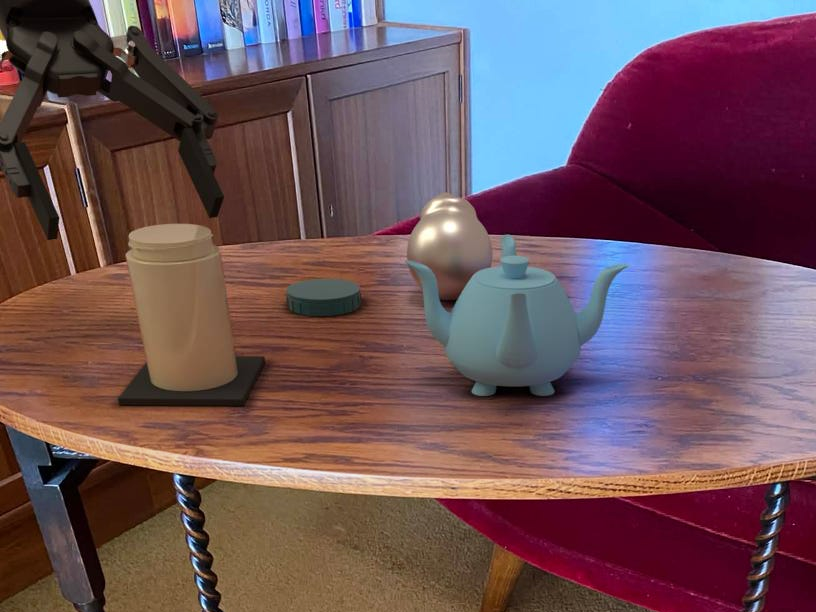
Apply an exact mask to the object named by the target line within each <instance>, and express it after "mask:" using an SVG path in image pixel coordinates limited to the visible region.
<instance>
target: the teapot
mask: <svg viewBox="0 0 816 612" xmlns="http://www.w3.org/2000/svg"><path fill="white" fill-rule="evenodd" d="M515 241H516V240H515V238H514V237H513V236H512V235H511V234H504V235H503V236H502V238H501V255H500V256H501V257H500V259H499V260H500V262H499V263H500V264H499V266H491V268H486V269H483V270H480V271H478V272H476V273H475V274H474V275H473V276H472V278H471V279H470V280H469V282H468V283H467V285H466V286H465V288H464V290H463V291H462V293H461V295H460V296H459V298H458V300H455V303H454V305H453V308H452V310H451V312H448V311H447V310H446V309H445V308H444V306H443V305H442V303H441V299H439V295H438V286H437V280H436V277H435V275H434V273H433V272H432V270H431V269H430V268H428V267H427V266H425V265H423V264H420V263H417V262H414V261H410V260H407V259H404V262H405V263H406V264H407V266H408V265H409V266H410V267H411V268H412V269H413V270H414V271H415V272H416V273H417V275H418V277H419V278H420V281H421V284H422V288H423V289H422V288H421V289H422V294H423V311H424V319H425V323H426V326H427V328H428V331H429V333H430V334H431V335H432V337H433V338H434V340H436V341H437V342H438V343H440V344H441V345H442V346H443V347H444V352H445V355H446V357H447V359H448V360H449V361H450V363H451V364H452V365H453V366H454V367H455V369H456V370H457V372H459V373H460V374H461V375H462V376H463V377H465V378H467V379H470V380H472V381H474V385H473V387H472V389H471V394H473V395H475V396H479V397H488V396H489V397H490V396H492V395H495V394H496V392H497V388H498V387H497V386H499V387H528V388H529V391H530V393H531V394H532V395H535V396H541V397H546V396H551V395H554V393H555V389H554V387H553V385H552V383H551V382H553V381H555V380H558V379H560V378H561V377H562V376H565V373H567V372H568V371H569V370H570V369H571V368H572V367H573V365H574V364H575V363H576V362H577V361H578V359H579V357H580V354H581V351H582V350H581V349H582V346H583V345H585V344H586V343H588V342H589V341H590V340H591V339H592V338H593V337H594V336H596V334H597V333H598V331H599V329H600V327H601V324H602V322H603V318H604V314H605V310H606V309H605V308H606V303H607V297H608V293H609V290H610V287H611V285H612V282H613V281H614V280H615V278H616V277H617V276H618V274H620V273H621V272H622V271H623V270H625V269H626V268H627V267H629V263H619V264H614V265H611V266H608V267H607V266H606V267H605V268H604V269H602V270H601V271H600V272H599V273H598V275H597V276H596V278H595V280H594V283H593V286H592V290H591V293H590V298H589V300H588V302H587V304H586V305H585V307H583V308H582V309H581V310H580V311H578V312H577V313H576V312H575V309H574V307H573V305H572V303H571V301H570V299H569V297H568V295H567V293H566V291H565V289H564V287H563V286H562V284H561V283H560V281H559V279H558V278H557V277H556V276H555V274H554V273H552V272H551V271H549V270H546V269H543V268H538V267H533V266H529V263H530V258H528V257H526V256H524V255H523V256H522V255H517V249H516V248H517V247H516V242H515ZM409 266H408V267H409Z"/></svg>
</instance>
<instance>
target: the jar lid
mask: <svg viewBox="0 0 816 612" xmlns="http://www.w3.org/2000/svg"><path fill="white" fill-rule="evenodd" d="M285 291H286V294H285V297H286V305H287V309H289V310H290V311H291V312H292V313H295V314H297V315H301V316H308V317H335V316H341V315H346V314H349V313H352V312H355V311H357V310H358V309H360V308H361V305H362V304H363V300H362V292H361V287H360V285H359V284H358V283H356V282H355V281H351V280H346V279H341V278H312V279H305V280H301V281H296V282H295V283H292V284H290V285H289V286H287V287H286V289H285Z"/></svg>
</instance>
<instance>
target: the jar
mask: <svg viewBox="0 0 816 612" xmlns="http://www.w3.org/2000/svg"><path fill="white" fill-rule="evenodd" d="M213 237H214V233H212V230H211V228H209V227H207V226H204V225H200V224H192V223H165V224H163V223H162V224H155V225H149V226H144V227H140V228H137V229H135V230H133V231H131V232H129V234H128V243H127V244H128V247H129V248H130V249H129V250H128V251H127V252H126V253H125V260H126V265H127V270H128V275H129V281H130V285H131V289H132V290H131V291H132V295H133V301H134V306H135V311H136V315H137V319H138V321H137V322H138V325H139V330H140V331H139V332H140V335H141V341H142V346H143V352H144V355H145V361H146V362H147V366H148V371H149V376H150V381H151V383H152V384H153V385H155V386H156V387H159V388H161V389H165V390H170V391H184V392H186V391H201V390H207V389H212V388H216V387H219V386H222V385H225V384H227V383H229V382H231V381H232V380H234V379H235V378H236V377H237V374H238V368H237V361H236V356H237V355H236V348H235V341H234V334H233V328H232V327H233V326H232V321H231V320H232V319H231V313H230V307H229V300H228V299H229V297H228V292H227V286H226V278H225V271H224V264H223V258H222V250H221V248H220V247H219V246H218V245H216V244H214V239H213Z"/></svg>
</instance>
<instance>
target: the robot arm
mask: <svg viewBox="0 0 816 612" xmlns="http://www.w3.org/2000/svg"><path fill="white" fill-rule="evenodd" d="M0 33H1V35H2V37H3V39H0V71H1V70H2V68H3V62H5V61H8V62H9V63H10V65H11V66H13V67H14V68H15V69H16V70H18V71H19V72H21V73H22V74H23V76H22V79H21V81H20V83H19V84H18V87H17V88H16V91H15V92H14V94H13V96H12V98H11V101H10V103H9V105H8V106H7V108H6V111H5V113H4V114H3V116H2V117H1V120H0V172H2V173H3V175H4V177H5V179H6V182H7V184H8V186H9V188H10V191H11V193H12V194H13V195H14V197H16V198H17V199H19V198H20V199H21V198H27V199H28V201H29V203H30V205H31V207H32V209H33V211H34V214H35V216H36V218H37V221H38V222H39V225H40V227H41V229H42V231H43V234H44V235H45V239H46V240H47V241H53V240H58V236H59V228H60V227H59V225H60V215H59V213H58V211H57V209H56V207H55V205H54V202H53V200H52V198H51V196H50V194H49V191H48V189H47V187H46V185H45V183H44V181H43V179H42V176H41V174H40V172H39V170H38V168H37V165H36V163H35V161H34V158H33V157H32V155H31V154H32V153H31V152H30V150H29V148H28V145H27V143H26V142H25V141H23V139H24V137H25V135H26V132H27V131H28V128H29V127H30V125H31V122H32V120H33V118H34V116H35V115H36V112H37V111H38V108H40V107H41V106H42V104H43V102H44V100H45V98H46V95H47V93H48V92H49V93H51V94H53V95H57V98H60V99H61V98H69V97H72V96H75V95H77V96H78V95H80V96H84V97H85V96H86V97H88V96H89V97H91V96H97V92H98V93H99V94H101V95H102V96H104V97H105V98H107V99H108V100H110V101H111V102H113V103H116V102H120V103H121V104H123V105H124V106H126V107H128V108H129V109H130V110H132V112H133V111H134V112H135V113H137V114H138V115H139V116H141V117H142V118H144V119H145V120H146V121H148V122H150V123H152V124H153V125H154V126H156V127H157V128H159V129H161V130H162V131H163V132H165V133H167V135H170V136H171V137H172V138H174V139H176V140H177V141H178V142H179V145H178V149H177V151H178V154H179V156H180V158H181V160H182V163H183V164H184V167H185V169H186V171H187V173H188V176H189V178H190V180H191V182H192V184H193V186H194V189H195V191H196V193H197V195H198V197H199V199H200V201H201V203H202V205H203V208H204V210H205V212H206V215H207V216H208V218H209V219H213V218H218V217H219V213H220V210H221V208H222V205H223V201H224V199H225V196H224V193H223V191H222V189H221V186H220V184H219V183H218V180H217V179H216V176H215V172H216V167H217V158H216V156H215V154H214V152H213V149H212V147H211V145H210V143H209V141H208V140H210V139H212V138H213V136H214V132H215V130H216V126H217V122H218V119H219V113H218V111H217V110H216V109H215V108H214V107H213V105H211V104H210V103H209V102H208V101H207V100H206V99H205V98H204V97H203V96H202V95H201V94H200V93H199V92H198V91H197V90H196V89H194V87H193V86H191V84H189V83H188V81H186V79H184V78H183V77H182V76H181V75H180V73H178V72H177V71H176V70H175V69H174V68H173V67H172V66H171V65H170V64H169V63H168V62H167V61H166V60H165V59H164V58H162V56H161V55H160V54H159V53H157V51H156V50H155V49H153V48H152V46H151V43H149V41H148V39H147V37H146V36H145V34H144V33H143V31H142V30H141V28H139V27H138V26H136V25H129V26H128V27H127V28H126V34H124V35H123V34H122V35H115V36H110V35H109V34H108V33H107V32H106V31H105V30H104V29H103V28H101V26H100V24H99V22H98V19H97V16H96V14H95V10H94V8H93V6H92V4H91V1H90V0H0ZM130 69H132V70H133V71H134V72H133V71H131V70H130ZM109 72H110V73H111V78H110V79H111V80H109V79H107V77H108V74H109Z"/></svg>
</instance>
